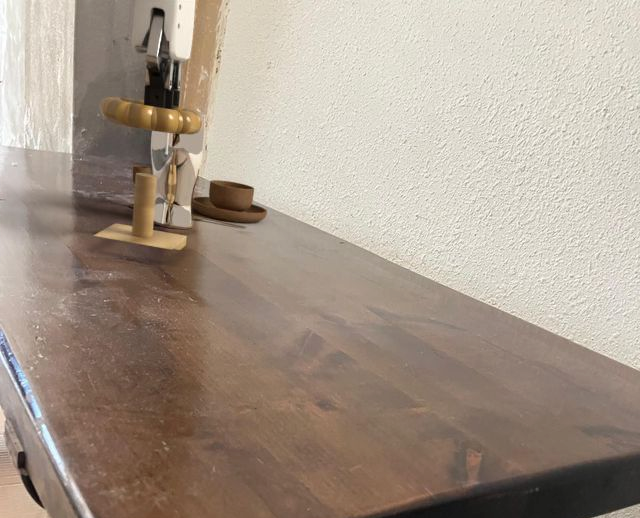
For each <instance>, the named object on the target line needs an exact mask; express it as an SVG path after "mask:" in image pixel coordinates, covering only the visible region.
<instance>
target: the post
mask: <svg viewBox="0 0 640 518" xmlns="http://www.w3.org/2000/svg"><path fill="white" fill-rule="evenodd" d="M156 185H157V176H155V175H153V174H151V173H150V174H146V173H136V180H135V184H134V195H133V196H134V198H133V204H134V208H133V211H132V225H127V224H123V223H113V224H112V225H109V226H108V227H106V228H103V230H101V231H99V232H97V233H95V234H93V237H99V238H103V239H109V240H115V241H121V242H126V243H132V244H137V245H143V246H149V247H154V248H160V249H166V250H171V251H172V250H177V251H182V249H184V247H186V246H187V238H188V237H187V235H182V234H178V233H172V232H166V231H162V230H155V229H154V224H153V223H154V211H155V198H156Z"/></svg>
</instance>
